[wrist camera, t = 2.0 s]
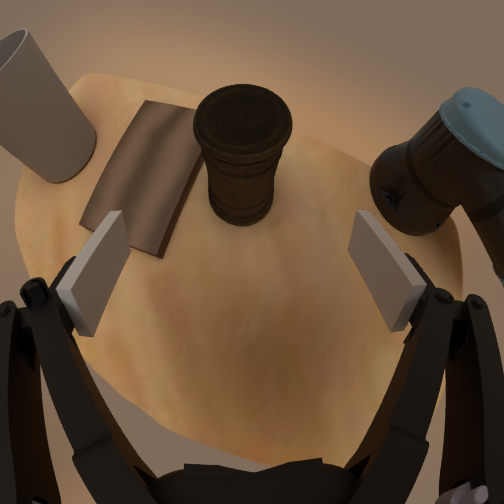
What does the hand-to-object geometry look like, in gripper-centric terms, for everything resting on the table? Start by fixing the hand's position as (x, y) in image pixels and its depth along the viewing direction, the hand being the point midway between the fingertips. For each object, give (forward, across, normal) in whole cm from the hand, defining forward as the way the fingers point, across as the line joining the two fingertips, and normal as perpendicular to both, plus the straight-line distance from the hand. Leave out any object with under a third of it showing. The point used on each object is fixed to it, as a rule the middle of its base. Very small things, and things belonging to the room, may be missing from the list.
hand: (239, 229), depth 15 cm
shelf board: (+26, -12, -5) cm, 30 cm away
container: (+24, +1, -8) cm, 25 cm away
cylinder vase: (+31, -30, -1) cm, 43 cm away
